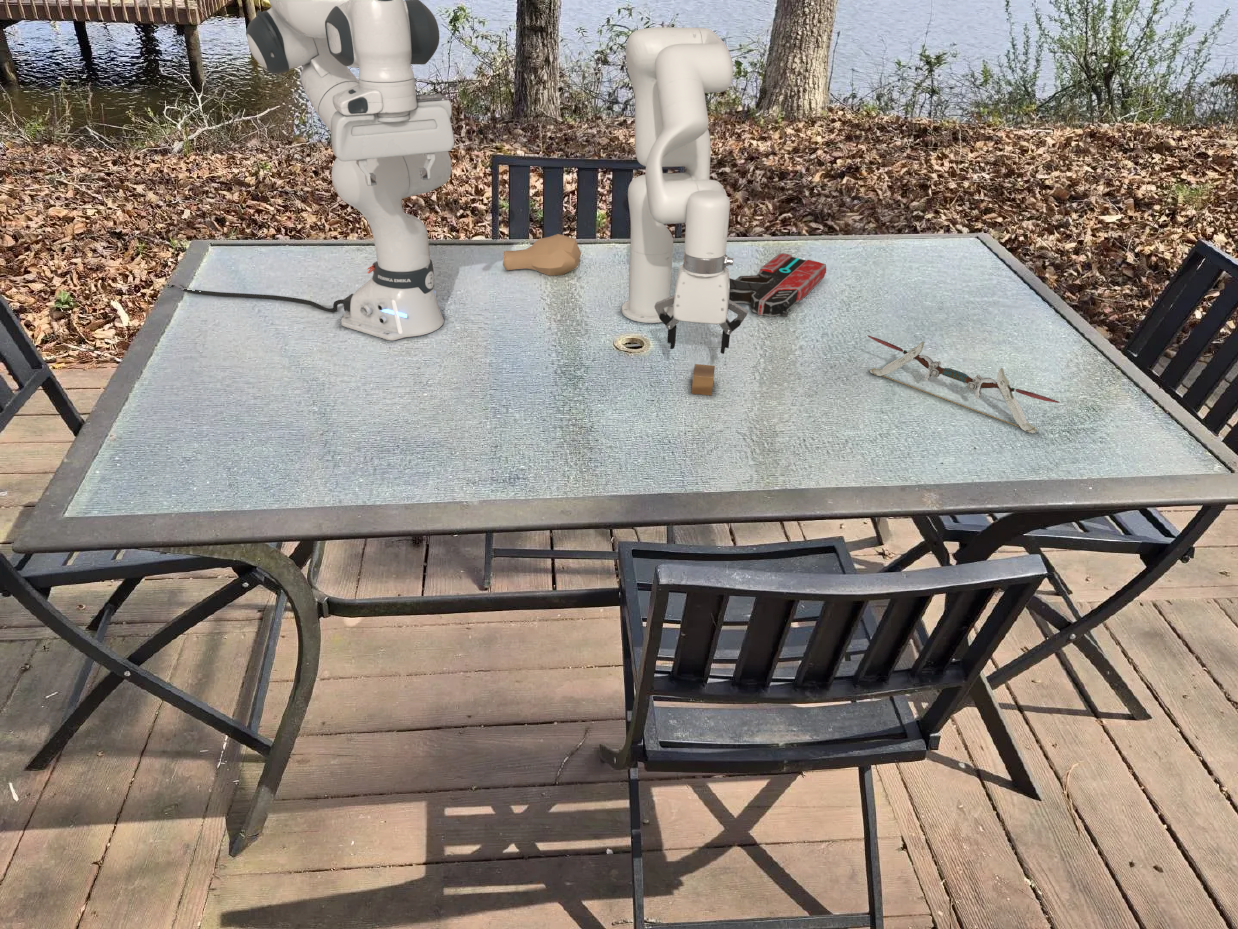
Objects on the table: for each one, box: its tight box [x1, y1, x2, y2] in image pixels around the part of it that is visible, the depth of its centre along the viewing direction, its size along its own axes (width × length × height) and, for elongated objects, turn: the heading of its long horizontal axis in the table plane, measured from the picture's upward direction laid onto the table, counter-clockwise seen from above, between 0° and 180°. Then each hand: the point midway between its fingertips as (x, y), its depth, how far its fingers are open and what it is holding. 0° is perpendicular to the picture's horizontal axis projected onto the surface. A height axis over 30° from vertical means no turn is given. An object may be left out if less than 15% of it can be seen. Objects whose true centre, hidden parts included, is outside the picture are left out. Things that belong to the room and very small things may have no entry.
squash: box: [502, 233, 582, 276], centre depth 221 cm, size 11×20×9 cm, turn 90°
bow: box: [867, 334, 1060, 434], centre depth 169 cm, size 39×2×10 cm, turn 47°
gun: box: [729, 252, 827, 318], centre depth 215 cm, size 4×31×19 cm
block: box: [691, 363, 716, 396], centre depth 173 cm, size 5×4×4 cm
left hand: (398, 181), depth 152 cm, fingers open, 8 cm apart
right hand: (697, 348), depth 168 cm, fingers open, 9 cm apart
